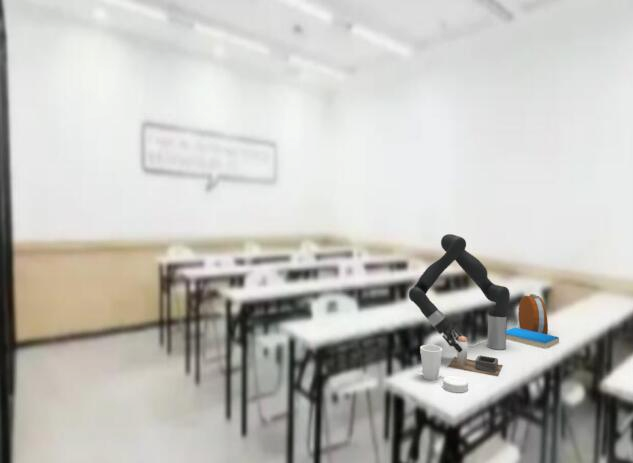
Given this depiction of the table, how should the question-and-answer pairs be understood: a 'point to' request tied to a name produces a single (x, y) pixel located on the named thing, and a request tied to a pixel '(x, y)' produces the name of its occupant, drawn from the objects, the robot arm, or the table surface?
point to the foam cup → (431, 361)
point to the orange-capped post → (463, 354)
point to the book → (531, 338)
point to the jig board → (479, 365)
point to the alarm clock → (533, 314)
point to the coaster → (455, 384)
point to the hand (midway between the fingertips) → (463, 348)
